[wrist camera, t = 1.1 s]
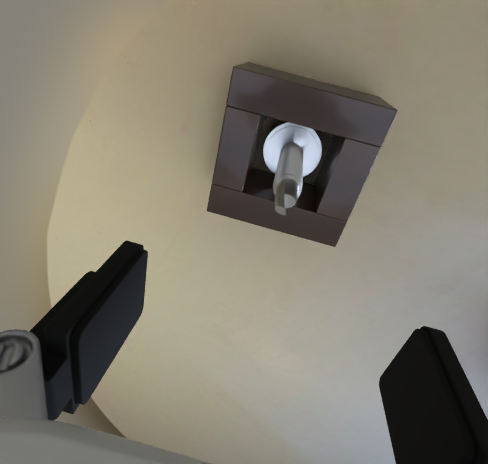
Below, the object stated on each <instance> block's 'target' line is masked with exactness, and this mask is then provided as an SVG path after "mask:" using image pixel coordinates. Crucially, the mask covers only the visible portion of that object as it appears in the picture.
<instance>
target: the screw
mask: <svg viewBox="0 0 488 464" xmlns="http://www.w3.org/2000/svg"><path fill="white" fill-rule="evenodd" d="M321 152H322V147H321V141H320V139H319V136H318V135H317V133H316V132H315V130H313V129H311V128H308V127H304V126H300V125H297V124H293V123H289V122H285V123H282V124H280V125H278V126H277V127H275V128H274V129H273V130H272V131H271V132H270V133H269V135H268V137H267V138H266V141H265V144H264V149H263V154H264V159H265V162H266V164H267V166H268V168H269V169H270V170H271V171H272V172H273V173H274V174H275V178H274V182H273V191H274V194H275V210H276V212H278V213H279V214H281V215H286V212H287V208H289V207H292V206H294V205H295V204H296V202H297V199H298V198H299V196H300V193H301V191H302V185H303V177H304V176H306V175H308V174H309V173H311V172H312V171H313V170H314V169H315V168H316V166H317V165H318V163H319V161H320V158H321Z"/></svg>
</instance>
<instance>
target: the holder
mask: <svg viewBox="0 0 488 464" xmlns="http://www.w3.org/2000/svg"><path fill="white" fill-rule="evenodd" d="M226 105H227V106H226V110H225V115H224V120H223V126H222V131H221V137H220V142H219V148H218V153H217V159H216V164H215V170H214V175H213V180H212V185H211V191H210V196H209V202H208V207H207V211H209V212H212V213H216V214H219V215H223V216H227V217H230V218H234V219H237V220H241V221H244V222H248V223H252V224H255V225H259V226H262V227H266V228H269V229H273V230H276V231H280V232H284V233H287V234H291V235H294V236H298V237H301V238H305V239H308V240H312V241H316V242H319V243H323V244H326V245H330V246H333V247H336V244H337V242H338V240H339V238H340V236H341V233H342V231H343V229H344V227H345V225H346V223H347V220H348V218H349V216H350V214H351V212H352V209H353V207H354V205H355V203H356V201H357V198H358V196H359V194H360V192H361V190H362V188H363V185H364V183H365V181H366V179H367V177H368V174H369V172H370V170H371V168H372V166H373V163H374V161H375V159H376V157H377V155H378V153H379V150H380V147H381V146H382V143H383V141H384V139H385V137H386V135H387V133H388V130H389V128H390V126H391V124H392V122H393V119H394V117H395V115H396V113H397V110H396V109H395V108H394V107H392V106H391V105H389V104H388V103H387V102H385V101H384V100H383V99H381V98H380V97H377V96H374V95H370V94H366V93H362V92H359V91H355V90H351V89H347V88H344V87H340V86H336V85H332V84H329V83H325V82H321V81H317V80H314V79H310V78H306V77H302V76H299V75H295V74H291V73H287V72H284V71H280V70H276V69H272V68H269V67H265V66H261V65H257V64H254V63H250V62H247V63H243V64H240V65H237V66H234V67H233V71H232V77H231V82H230V88H229V93H228V98H227V104H226ZM266 116H267V117H271V118H274V119H278V120H282V121H286V122H289V123H293V124H297V125H300V126H304V127H308V128H311V129H315V130H319V131H322V132H326V133H330V134H333V136H332V138H331V141H330V144H329V146H328V149H327V152H326V155H325V157H324V160H323V163H322V165H321V168H320V171H319V174H318V176H317V179H316V182H315V185H313V184H310V183H306V182H303V185H302V191H301V193H300V196H299V198H298V199H297V202H296V204H295V205H294V206H292V207H289V208H287V212H286V215H281V214H279V213H278V212H276V210H275V194H274V191H273V182H274V178H275V174H274V173H270V172H266V171H263V170H259V169H256V168H253V165H254V161H255V157H256V153H257V149H258V145H259V141H260V137H261V133H262V129H263V125H264V121H265V117H266Z"/></svg>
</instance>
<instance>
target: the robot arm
mask: <svg viewBox="0 0 488 464" xmlns="http://www.w3.org/2000/svg"><path fill="white" fill-rule="evenodd" d="M147 257H148V252H147V251H146V250H144V248H143V245H140V244H137V243H133V242H130V241H125V242H124V243H123V244H122V245H121V246H120V247H119V248H118V249H117V250H116V251H115V252H114V253H113V254H112V255H111V256H110V258H109V259H108V260H107V261H106V262H105V263H104V264H103V265H102V266H101V267H100V268H99V269H98V270H97V271H96V272H93V271H90V272H88V273H86V274H85V275H84V276H83V277H82V278H81V279H80V280H79V281H78V282H77V283H76V284H75V285H74V286H73V287H72V288H71V289H70V290H69V291H68V292H67V294H66V295H65V296H64V297H63V298H62V299H61V300H60V301H59V302H58V303H57V304H56V305H55V306H54V307H53V308H52V309H51V310H50V311H49V312H48V313H47V314H46V315H45V316H44V317H43V318H42V319H41V320H40V321H39V322H38V323H37V324H36V325H35V326H34V327H33V328H32V329H31V330H30V331H29V332H28V331H26V330H17V329H16V330H7V331H3V332H0V464H211V463H208V462H204V461H201V460H197V459H194V458H191V457H187V456H184V455H181V454H177V453H174V452H171V451H167V450H164V449H161V448H157V447H154V446H151V445H147V444H144V443H141V442H137V441H133V440H130V439H126V438H122V437H119V436H115V435H112V434H108V433H105V432H101V431H97V430H94V429H90V428H86V427H82V426H77V425H73V424H69V423H64V422H59V421H53V420H55V419H57V418H58V417H59V415H60V414H61V412H62V411H64V412H67V413H71V414H74V412H75V410H76V409H77V407H78V405H79V404H83V405H84V404H85V403H87V401H88V400H89V398H90V397H91V395H92V393H93V392H94V390H95V389H96V387H97V385H98V384H99V382H100V381H101V379H102V377H103V376H104V374H105V372H106V371H107V369H108V368H109V366H110V364H111V363H112V361H113V359H114V358H115V356H116V355H117V353H118V351H119V350H120V348H121V346H122V345H123V343H124V342H125V340H126V338H127V337H128V335H129V333H130V332H131V330H132V329H133V327H134V325H135V324H136V322H137V321H138V319H139V317H140V315H141V313H142V310H143V305H144V293H145V281H146V269H147ZM379 387H380V392H381V397H382V401H383V406H384V410H385V415H386V420H387V424H388V429H389V433H390V438H391V442H392V447H393V452H394V456H395V461H396V464H488V420H487V418H486V416H485V414H484V411H483V409H482V407H481V405H480V403H479V401H478V399H477V397H476V395H475V393H474V391H473V389H472V387H471V385H470V383H469V381H468V379H467V377H466V375H465V373H464V371H463V369H462V367H461V365H460V363H459V361H458V359H457V356H456V354H455V352H454V350H453V348H452V346H451V344H450V342H449V340H448V338H447V336H446V334H445V333H444V332H443V331H441V330H437V329H434V328H430V327H427V326H423V327H421V328H420V329H416V330H415V331H414V332H413V333H412V334H411V336H410V337H409V339H408V340H407V341H406V343H405V344H404V345H403V347H402V348H401V350H400V351H399V352H398V354H397V355H396V356H395V358H394V359H393V360H392V362H391V363H390V365H389V366H388V367H387V369H386V370H385V371H384V373H383V374H382V376H381V377H380V381H379Z"/></svg>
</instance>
